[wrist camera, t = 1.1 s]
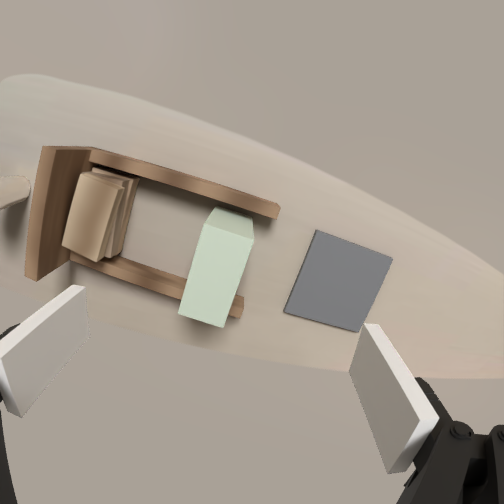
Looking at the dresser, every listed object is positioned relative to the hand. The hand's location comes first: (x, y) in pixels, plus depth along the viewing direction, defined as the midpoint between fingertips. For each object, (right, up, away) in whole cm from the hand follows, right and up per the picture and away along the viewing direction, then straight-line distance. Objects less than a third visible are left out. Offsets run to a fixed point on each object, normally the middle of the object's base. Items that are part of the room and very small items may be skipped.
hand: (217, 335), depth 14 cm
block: (-2, +4, +21) cm, 22 cm away
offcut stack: (-14, +8, +20) cm, 26 cm away
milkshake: (-27, +12, +19) cm, 35 cm away
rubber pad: (+12, 0, +23) cm, 25 cm away
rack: (-8, +6, +20) cm, 23 cm away
